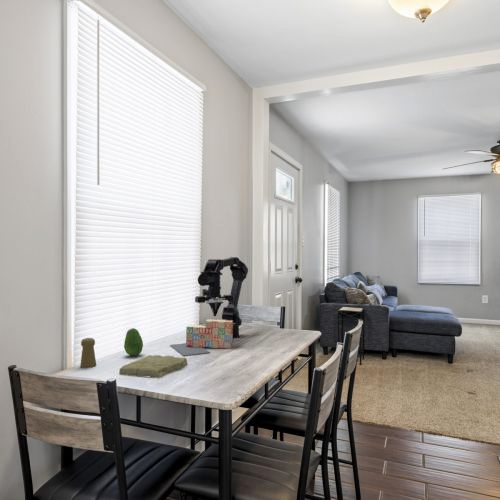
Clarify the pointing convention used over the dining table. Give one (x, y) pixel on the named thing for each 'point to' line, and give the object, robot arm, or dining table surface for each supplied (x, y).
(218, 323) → the stack of blocks
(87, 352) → the cork
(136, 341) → the avocado
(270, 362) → the dining table surface
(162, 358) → the decorative tile
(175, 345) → the mat
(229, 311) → the robot arm
